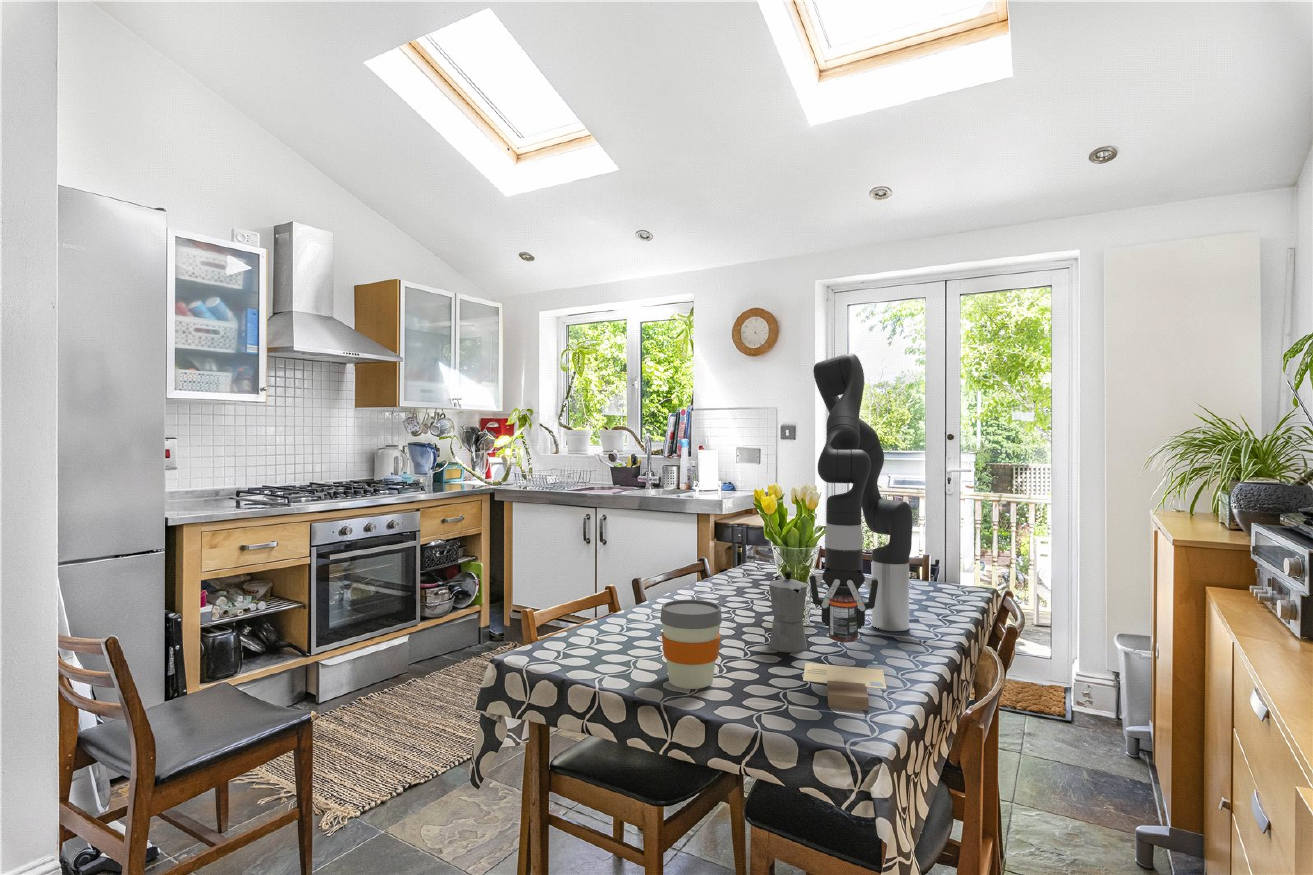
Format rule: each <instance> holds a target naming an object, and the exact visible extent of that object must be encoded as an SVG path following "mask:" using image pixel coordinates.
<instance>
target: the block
mask: <svg viewBox="0 0 1313 875" xmlns="http://www.w3.org/2000/svg"><path fill="white" fill-rule="evenodd" d="M826 694H827V695H826V697H827V704H828V708H835V709H845V710H846V709H847V710H856V711H857V710H860V711H870V709H869V708H870V706H869V705H870V704H869V702H870V701H869V700H870V699H869V694H868V691H867V687H866V686H865V683H853V682H840V681H827V683H826Z"/></svg>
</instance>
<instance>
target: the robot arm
mask: <svg viewBox="0 0 1313 875" xmlns="http://www.w3.org/2000/svg"><path fill="white" fill-rule="evenodd" d="M813 377H814V378H813V379H814V380H815V384H816V386H817V389H818V391H819V394H820V396H821V399H822V400H823V402H824V405H825V408H826V409H827V411H828V417H827V421H826V441H825V445H824V446H823V449H822V451H821V453H820V455H819V458H818V462H817V473H818V476H819V477H820V478H821V480H822V481H823V482H824V483H828V484H829V483H830V484H852V486H851V488H850V489H849V490H848V491H847V492H844V493H843V492H842V493H838V494H833V495H830V496H828V497H827V499H826V513H825V514H826V517H825V518H826V519H825V520H826V522H825V523H826V525H825V526H826V527H825V530H824V531H825V532H824V534H825V535H824V571H823V573H822V574H821V573H820V574H814V573H811V574H810V575H809V583H810V591H811V592H810V593H811V597H812V603H813V604H814V605H817V606H819V607H820V608H821V622H822V624H824V627H828V614H829V608H828V604H829V600H830V599H831V598H832V597H833V595H834V593H835V591H836V590H837V588H838V586H848V587H849V589H850V591H851V594H852V595H853V597H854V599H855V600H856V601H857V605H858V630H862V627H865V624H866V611H867V610H870V609H871V626H872V627H873V628H875V627H876V629H878V628H879V630H883V631H888V632H903V631H905V632H906V631H907V630H909V629H910V556H911V552H912V544H913V542H912V538H913V527H914V526H913V524H914V520H913V519H914V518H913V517H914V516H913V510H912V507H911V505H910V504H909V503H908V502H907V501H903V500H897V499H896V500H895V499H894V500H893V499H884V498H883V497H882V496H881V493H880V491H879V490H880V489H879V487H878V481H879V477H880V474H881V472H882V469H883V467H884V463H885V453H884V450H883V447H882V445H881V440H880V438H879V434H878V433H877V432H876V430H875V429H874V428H873V427H871V425H870V424H869V423H867V422H866V421H865V420H863V419H861V418H860V412H861V411H860V410H861V407H862V402H863V395H864V389H865V388H864V387H865V373H864V369H863V366H862V363H861V360H860V359H859V357H858V356H857V355H856V354H855V353H852V352H851V353H844V354H840V355H837V356H835V357H831V358H827V359H824V360H821V361H819V362H816V363H814V366H813ZM839 396H841V397H839ZM862 513H863V517H864V521H865V523H866V526H867V528H868V529H869V530H870V532H873V533H874V534H879V535H886V536H887V535H888V536H889V540H888V543H887V544H886V545H883V546H879V547H875V548H874V549H872V551H871V552H872V553H871V577H868V576H865V575H864V573H863V572H864V571H863V556H864V555H863V550H864V549H863V545H864V541H863V539H864V538H863V529H862V528H863V527H862ZM822 580H823V582H824V583H825V584H826V586H827V588H828V589H827V591H826V593H825V595H824V597H823V599H822V598H821V597H819V590H818V586H820V585H821V581H822ZM864 583H866V587H867V589H870V590H869V594H868V599H867V600H866V601H864V600H863V598H862V595H861V593H860V591H859V589H860V588H861V587H862V586H863V584H864Z"/></svg>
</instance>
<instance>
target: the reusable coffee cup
mask: <svg viewBox="0 0 1313 875" xmlns="http://www.w3.org/2000/svg"><path fill="white" fill-rule="evenodd" d="M660 610H661V612H660V622H661V625H662V633H661V641H662V642H661V643H662V650H663V656H664V658H665V659H666V666H667V674H668V682H669V683H670V685H672V686H674V687H677V688H681V689H686V690H690V689H691V690H697V689H703V688H707V687H710V686H711V685H712V684H713V682H714V675H715V666H716V660H718V658H719V653H720V652H719V650H720V644H721V637H722V636H721V633H720V628H721V624H722V623H723V617H722V607H721V605H719V604H718V603H716V602H713V601H708V600H704V599H703V600H701V599H676V600H670V601H667V602H664V603H663V604H662V605H661V609H660Z"/></svg>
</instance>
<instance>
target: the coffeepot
mask: <svg viewBox="0 0 1313 875" xmlns="http://www.w3.org/2000/svg"><path fill="white" fill-rule="evenodd" d="M792 572H793V571H789V570H787V571H784V575H785V577H784V576H782V575H780V574H777V575H776V576H775V578H774V580H771V581H769V583H768V587H769V594H770V595H769V596H770V602H771V610H772V613H773V619H772V625H771V626H772V627H771V632H770V638H769V644H768V648H770V649H773V650H774V651H777V652H779V653H792V654H794V653H795V654H796V653H799V652H804V651H807V646H808V644H807V639H806V638H807V637H806V631H805V625H804V624H805V623H804V620H803V614H804V610H805V604H806V597H807V589H808V588H807V587H808V583H806V582H803V581H799V580H795V579H793V578H792Z"/></svg>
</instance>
